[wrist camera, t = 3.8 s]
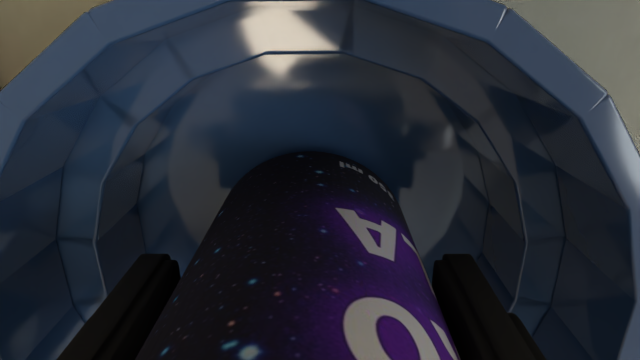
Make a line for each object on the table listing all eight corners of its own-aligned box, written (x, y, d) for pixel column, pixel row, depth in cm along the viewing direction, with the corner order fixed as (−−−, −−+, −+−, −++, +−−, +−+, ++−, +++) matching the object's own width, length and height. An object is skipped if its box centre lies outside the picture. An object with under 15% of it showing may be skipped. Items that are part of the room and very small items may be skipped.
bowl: (575, -17, 11) (785, -49, 6) (499, 388, 16) (579, 559, 11) (48, -13, 11) (-179, -39, 6) (133, 386, 16) (46, 552, 11)
